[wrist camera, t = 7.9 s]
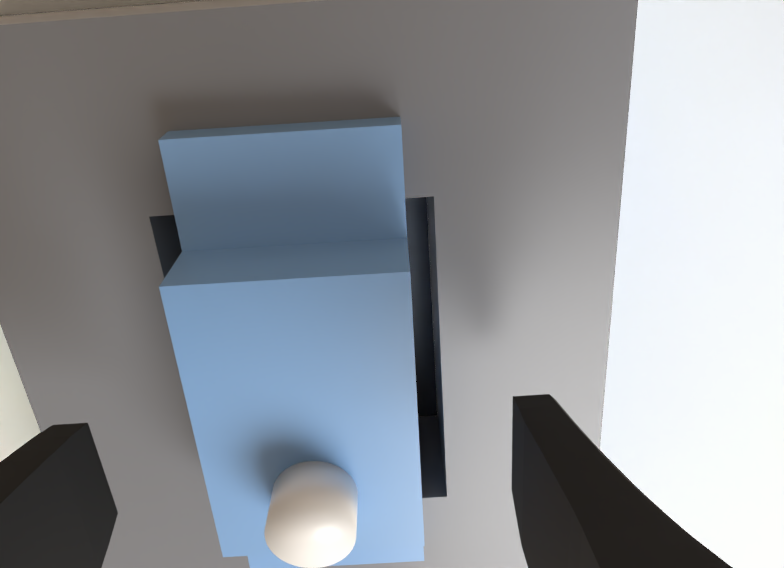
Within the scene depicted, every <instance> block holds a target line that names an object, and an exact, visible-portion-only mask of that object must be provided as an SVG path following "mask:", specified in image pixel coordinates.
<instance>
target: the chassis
mask: <svg viewBox="0 0 784 568" xmlns="http://www.w3.org/2000/svg"><path fill="white" fill-rule="evenodd" d="M637 5H638V0H202V1H189V2H176V3H163V4H150V5H136V6H123V7H110V8H97V9H84V10H71V11H58V12H45V13H32V14H19V15H5V16H0V324H1V327H2V330H3V332H4V335H5V338H6V340H7V343H8V346H9V348H10V351H11V354H12V356H13V359H14V362H15V364H16V367H17V369H18V372H19V375H20V377H21V380H22V383H23V385H24V388H25V391H26V393H27V396H28V399H29V401H30V404H31V407H32V409H33V412H34V415H35V417H36V420H37V423H38V425H39V428H40V431H41V432H43V431H44V430H46V429H47V428H49V427H50V426H52V425H58V424H75V423H88V425H89V428H90V431H91V434H92V437H93V440H94V443H95V446H96V449H97V451H98V454H99V457H100V460H101V463H102V466H103V469H104V472H105V475H106V478H107V481H108V484H109V487H110V490H111V493H112V496H113V499H114V502H115V505H116V508H117V511H118V515H117V518H116V522H115V525H114V529H113V532H112V536H111V539H110V543H109V546H108V549H107V552H106V555H105V558H104V561H103V564H102V568H250V566H249V561H248V556H235V557H223V555H222V551H221V547H220V542H219V538H218V534H217V530H216V526H215V521H214V517H213V513H212V509H211V504H210V500H209V496H208V492H207V488H206V483H205V479H204V475H203V471H202V467H201V462H200V458H199V454H198V450H197V445H196V441H195V437H194V433H193V429H192V424H191V420H190V416H189V412H188V408H187V403H186V399H185V395H184V391H183V386H182V382H181V378H180V374H179V370H178V365H177V361H176V357H175V353H174V348H173V344H172V340H171V336H170V332H169V327H168V323H167V319H166V315H165V311H164V306H163V302H162V298H161V294H160V289H159V286H160V284H161V283H162V281H163V280H164V278H165V277H166V275H167V274H168V272H169V271H170V269H171V268H172V266H173V265H174V263H175V261H176V260H177V258H178V257H179V255H180V254H181V252H182V249H181V244H180V239H179V235H178V230H177V225H176V221H175V216H174V212H173V207H172V202H171V198H170V193H169V188H168V184H167V179H166V174H165V170H164V165H163V160H162V156H161V151H160V146H159V142H158V140H159V139H160V138H161V137H162V136H163V135H165V134H166V133H167V132H168V131H179V130H195V129H211V128H227V127H243V126H259V125H275V124H291V123H307V122H323V121H339V120H355V119H371V118H387V117H400V118H401V128H402V147H403V166H404V185H405V198H419V197H426V198H427V219H428V239H429V259H430V280H431V300H432V321H433V341H434V362H435V382H436V403H437V415H436V416H421V417H418V427H419V446H420V466H421V485H422V504H423V524H424V543H425V546H424V561H413V562H395V563H376V564H358V565H340V566H326V567H321V568H528V566H527V563H526V559H525V556H524V552H523V549H522V545H521V540H520V534H519V529H518V524H517V518H516V512H515V507H514V501H513V495H512V415H513V396H526V395H542V394H550V395H551V396H552V397H553V398H554V399H555V400H556V401H557V402H558V403H559V404H560V405H561V407H562V408H563V409H564V410H565V411H566V413H567V414H568V415H569V416H570V417H571V418H572V420H573V421H574V422H575V423H576V424H577V425H578V426H579V428H580V429H581V430H582V431H583V432H584V433H585V434H586V435H587V436H588V438H589V439H590V440H591V441H592V442H593V443H594V444H595V445H596V446H597V447H598V449H599V450H600V439H601V427H602V416H603V404H604V392H605V380H606V369H607V357H608V345H609V334H610V322H611V310H612V298H613V287H614V275H615V263H616V251H617V240H618V228H619V216H620V205H621V193H622V181H623V169H624V158H625V146H626V134H627V123H628V111H629V99H630V87H631V76H632V64H633V52H634V41H635V29H636V17H637Z"/></svg>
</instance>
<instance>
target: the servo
mask: <svg viewBox="0 0 784 568" xmlns="http://www.w3.org/2000/svg"><path fill="white" fill-rule="evenodd" d="M158 142H159V146H160V151H161V156H162V160H163V165H164V170H165V174H166V179H167V184H168V188H169V193H170V198H171V202H172V207H173V212H174V216H175V221H176V225H177V230H178V235H179V239H180V244H181V249H182V252H181V254H180V255H179V257H178V258H177V260H176V261H175V263H174V265H173V266H172V268H171V269H170V271H169V272H168V274H167V275H166V277H165V278H164V280H163V281H162V283H161V284H160V286H159V289H160V294H161V298H162V302H163V306H164V311H165V315H166V319H167V323H168V327H169V332H170V336H171V340H172V344H173V348H174V353H175V357H176V361H177V365H178V370H179V374H180V378H181V382H182V386H183V391H184V395H185V399H186V403H187V408H188V412H189V416H190V420H191V424H192V429H193V433H194V437H195V441H196V445H197V450H198V454H199V458H200V462H201V467H202V471H203V475H204V479H205V483H206V488H207V492H208V496H209V500H210V504H211V509H212V513H213V517H214V521H215V526H216V530H217V534H218V538H219V542H220V547H221V551H222V555H223V557H235V556H248V561H249V566H250V568H321V567H326V566H340V565H358V564H376V563H395V562H413V561H424V546H425V543H424V524H423V504H422V485H421V466H420V446H419V427H418V408H417V388H416V369H415V350H414V331H413V311H412V292H411V273H410V262H409V251H408V240H407V223H406V204H405V185H404V166H403V147H402V128H401V118H400V117H387V118H371V119H355V120H339V121H323V122H307V123H291V124H275V125H259V126H243V127H227V128H211V129H195V130H179V131H168V132H167V133H166V134H165V135H163V136H162V137H161V138H160V139H159V140H158Z"/></svg>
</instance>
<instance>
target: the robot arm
mask: <svg viewBox="0 0 784 568" xmlns="http://www.w3.org/2000/svg"><path fill="white" fill-rule="evenodd" d="M512 495H513V501H514V507H515V512H516V518H517V524H518V529H519V534H520V540H521V545H522V549H523V552H524V556H525V559H526V563H527V566H528V568H732V567H731V566H729V565H728V564H727V563H725V562H724V561H723V560H721V559H720V558H719V557H718V556H716V555H715V554H714V553H712V552H711V551H710V550H709V549H707V548H706V547H705V546H703V545H702V544H701V543H700V542H698V541H697V540H696V539H694V538H693V537H692V536H691V535H690V534H688V533H687V532H686V531H685V530H684V529H682V528H681V527H680V526H679V525H678V524H677V523H675V522H674V521H673V520H672V519H671V518H670V517H669V516H667V515H666V514H665V513H664V512H663V511H662V510H661V509H660V508H659V507H657V506H656V505H655V504H654V503H653V502H652V501H651V500H650V499H649V498H647V497H646V496H645V495H644V494H643V493H642V492H641V491H640V490H639V489H638V488H637V487H636V486H635V485H634V484H633V483H632V482H631V481H630V480H629V479H628V478H627V477H626V476H625V475H624V474H623V473H622V472H621V471H620V470H619V469H618V468H617V467H616V466H615V465H614V464H613V463H612V462H611V461H610V460H609V459H608V458H607V457H606V456H605V455H604V454H603V453H602V452H601V451H600V450H599V449H598V447H597V446H596V445H595V444H594V443H593V442H592V441H591V440H590V439H589V438H588V436H587V435H586V434H585V433H584V432H583V431H582V430H581V429H580V428H579V426H578V425H577V424H576V423H575V422H574V421H573V420H572V418H571V417H570V416H569V415H568V414H567V413H566V411H565V410H564V409H563V408H562V407H561V405H560V404H559V403H558V402H557V401H556V400H555V399H554V398H553V397H552V396H551V395H550V394H542V395H526V396H513V415H512ZM117 515H118V511H117V508H116V505H115V502H114V499H113V496H112V493H111V490H110V487H109V484H108V481H107V478H106V475H105V472H104V469H103V466H102V463H101V460H100V457H99V454H98V451H97V449H96V446H95V443H94V440H93V437H92V434H91V431H90V428H89V425H88V423H75V424H58V425H52V426H50V427H49V428H47V429H46V430H44V431H43V432H41V433H40V434H38V435H37V436H35V437H34V438H32V439H31V440H30V441H28V442H27V443H26V444H24V445H23V446H21V447H20V448H19V449H17V450H16V451H15V452H13V453H12V454H11V455H9V456H8V457H7V458H5V459H4V460H3V461H1V462H0V568H102V564H103V561H104V558H105V555H106V552H107V549H108V546H109V543H110V539H111V536H112V532H113V529H114V525H115V522H116V518H117Z"/></svg>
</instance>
